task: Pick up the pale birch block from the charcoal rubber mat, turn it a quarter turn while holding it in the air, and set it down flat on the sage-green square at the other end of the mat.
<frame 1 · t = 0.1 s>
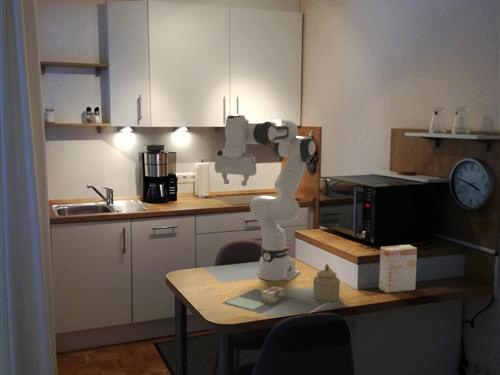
hand: (235, 184, 245), 48 cm above the table, tool pointing down, fingers open, 8 cm apart
rubber mat: (258, 301, 240), on the table
sugar bowl: (324, 297, 247), on the table
coffeecake box: (397, 289, 258), on the table
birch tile: (272, 299, 241), point 1 cm above the table, touching rubber mat
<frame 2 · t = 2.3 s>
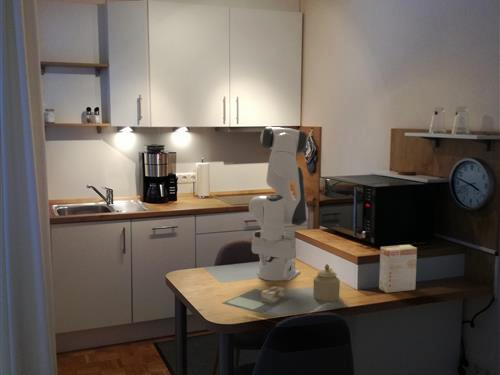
hand: (273, 266, 239), 15 cm above the table, tool pointing down, fingers open, 8 cm apart
nothing on the table moved.
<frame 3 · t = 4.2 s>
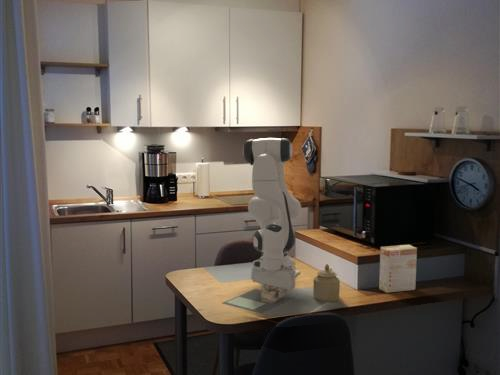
hand: (272, 295, 241), 2 cm above the table, tool pointing down, fingers closed on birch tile, 5 cm apart
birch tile: (272, 299, 241), point 1 cm above the table, touching gripper, rubber mat
everything else where it was.
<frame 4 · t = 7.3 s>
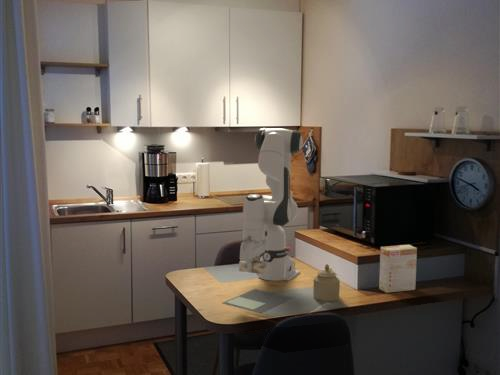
hand: (252, 267, 235), 16 cm above the table, tool pointing down, fingers closed on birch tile, 5 cm apart
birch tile: (252, 271, 235), point 14 cm above the table, touching gripper
everything else where it was.
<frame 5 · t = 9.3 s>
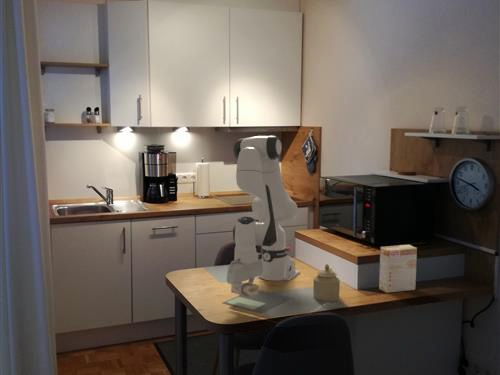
hand: (244, 289, 235), 6 cm above the table, tool pointing down, fingers closed on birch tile, 5 cm apart
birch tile: (244, 293, 235), point 5 cm above the table, touching gripper
everything else where it was.
when the fingers open (4 cm above the table, at t = 10.7 s): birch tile drops 1 cm, resting on rubber mat.
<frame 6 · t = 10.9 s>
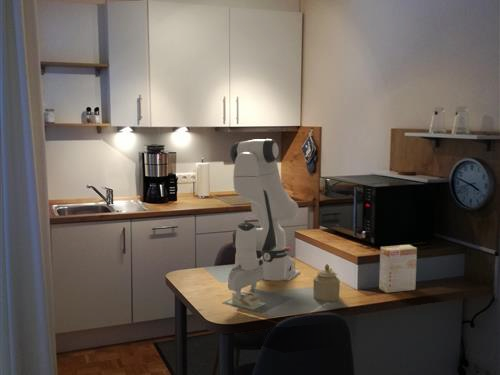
hand: (245, 295, 235), 4 cm above the table, tool pointing down, fingers open, 7 cm apart
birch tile: (245, 302, 236), point 1 cm above the table, touching rubber mat
everything else where it was.
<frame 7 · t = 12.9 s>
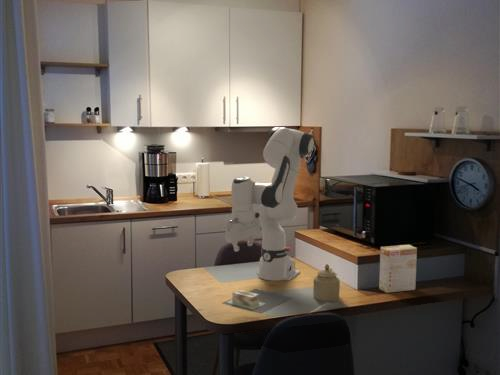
hand: (243, 248, 240), 22 cm above the table, tool pointing down, fingers open, 8 cm apart
nothing on the table moved.
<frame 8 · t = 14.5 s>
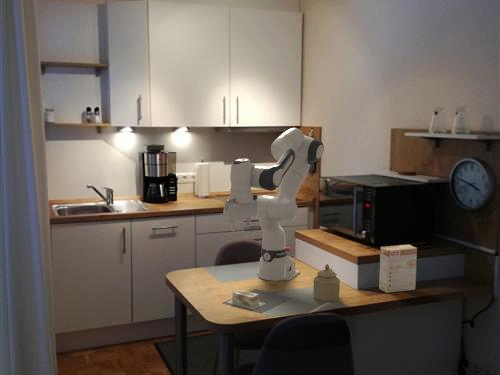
hand: (240, 229, 244), 29 cm above the table, tool pointing down, fingers open, 8 cm apart
nothing on the table moved.
at the end: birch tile 0.1 cm from the target spot on the rubber mat, point 0.7 cm above the rubber mat's base; the gripper is holding nothing; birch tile tilted 0° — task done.
